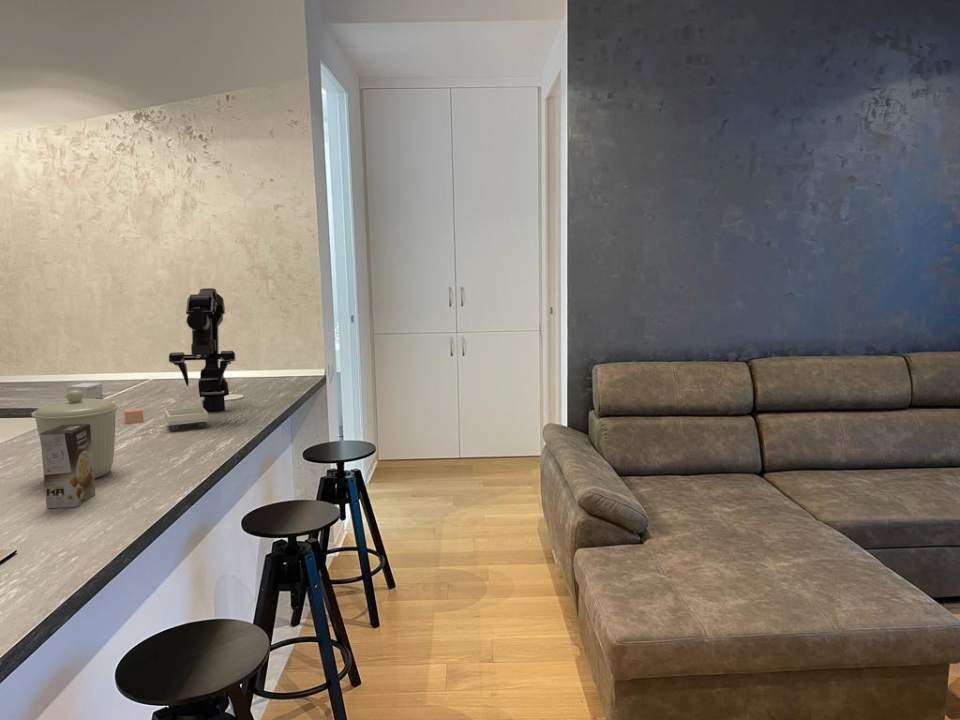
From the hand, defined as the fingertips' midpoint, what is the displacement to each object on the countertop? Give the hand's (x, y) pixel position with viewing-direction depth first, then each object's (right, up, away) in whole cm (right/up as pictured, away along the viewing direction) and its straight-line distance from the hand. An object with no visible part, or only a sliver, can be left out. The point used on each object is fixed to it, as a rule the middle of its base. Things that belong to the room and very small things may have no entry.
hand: (203, 385), depth 222 cm
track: (-9, -14, -3) cm, 17 cm away
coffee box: (-3, -23, -66) cm, 70 cm away
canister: (-11, -21, -48) cm, 53 cm away
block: (-25, -13, +7) cm, 29 cm away
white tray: (-5, -13, -1) cm, 14 cm away
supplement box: (-41, -13, +11) cm, 45 cm away
